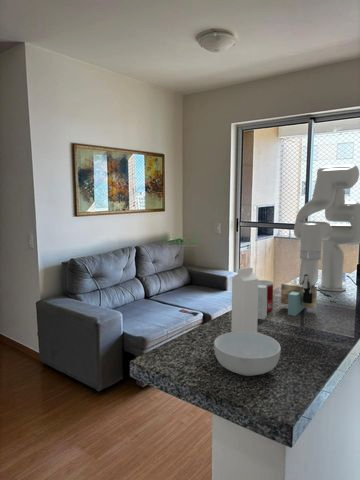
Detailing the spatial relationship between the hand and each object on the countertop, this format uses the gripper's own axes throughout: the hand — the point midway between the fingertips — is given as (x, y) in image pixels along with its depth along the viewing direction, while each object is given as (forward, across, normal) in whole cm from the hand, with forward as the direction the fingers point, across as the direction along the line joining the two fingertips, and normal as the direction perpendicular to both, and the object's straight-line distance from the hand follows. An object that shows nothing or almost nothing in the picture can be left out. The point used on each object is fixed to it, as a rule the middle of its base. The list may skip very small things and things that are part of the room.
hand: (308, 301), depth 138 cm
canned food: (+4, +7, -16) cm, 18 cm away
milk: (+4, +36, -11) cm, 38 cm away
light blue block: (+4, 0, -4) cm, 6 cm away
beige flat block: (+2, 0, -4) cm, 5 cm away
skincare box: (+4, +17, -14) cm, 23 cm away
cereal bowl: (+4, +57, -1) cm, 57 cm away
